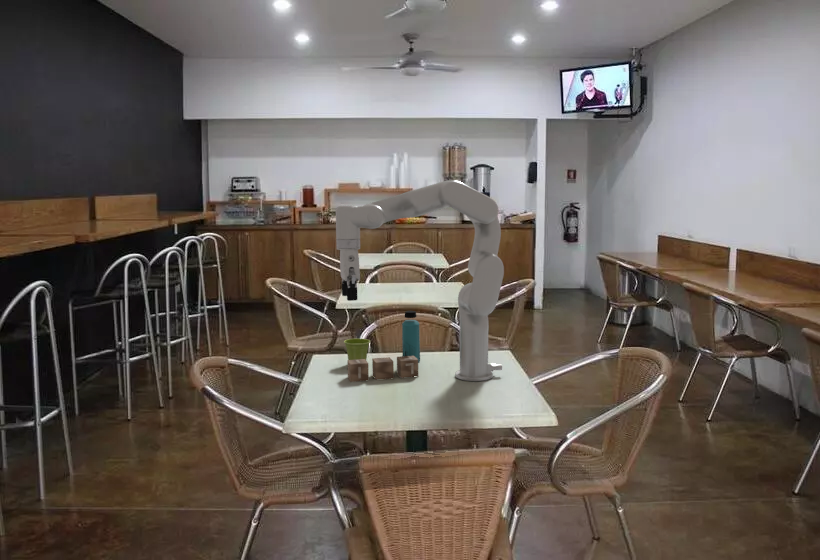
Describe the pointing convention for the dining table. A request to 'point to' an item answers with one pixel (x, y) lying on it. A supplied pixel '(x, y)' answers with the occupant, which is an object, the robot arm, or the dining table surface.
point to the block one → (358, 370)
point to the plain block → (383, 368)
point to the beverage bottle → (411, 336)
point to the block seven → (407, 366)
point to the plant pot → (357, 348)
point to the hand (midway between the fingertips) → (349, 298)
